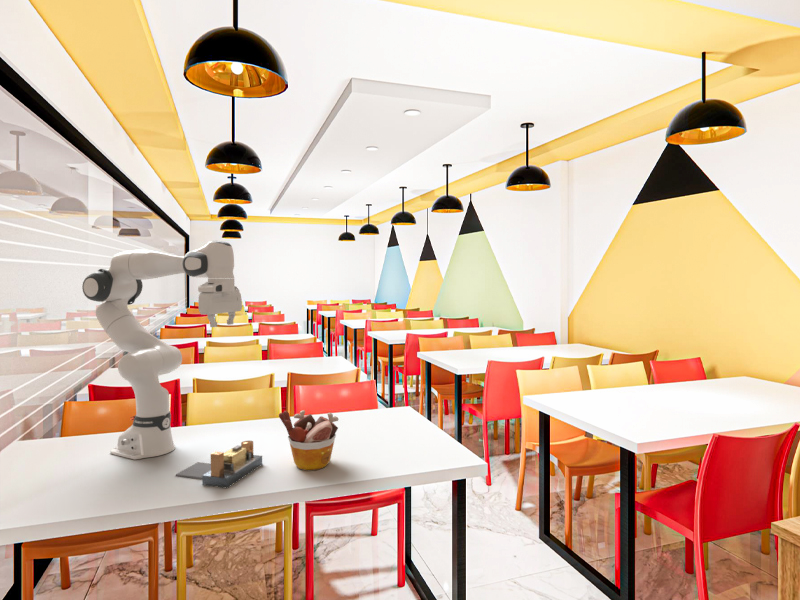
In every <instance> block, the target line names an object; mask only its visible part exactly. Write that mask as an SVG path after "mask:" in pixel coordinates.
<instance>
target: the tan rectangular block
mask: <svg viewBox="0 0 800 600" xmlns="http://www.w3.org/2000/svg"><path fill="white" fill-rule="evenodd" d="M245 460H247V456H246V448H242V446H241V445H235V446H233V447H232V448H231V449H228V450H226V451H225V452H224V462H228V463H234V467H236V466H237V465H239V464H241V463H242V462H244V461H245Z"/></svg>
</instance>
